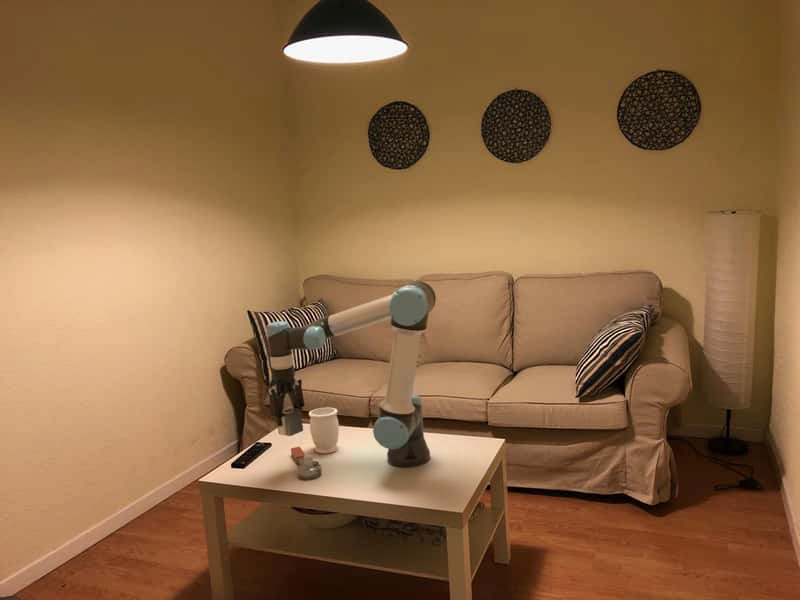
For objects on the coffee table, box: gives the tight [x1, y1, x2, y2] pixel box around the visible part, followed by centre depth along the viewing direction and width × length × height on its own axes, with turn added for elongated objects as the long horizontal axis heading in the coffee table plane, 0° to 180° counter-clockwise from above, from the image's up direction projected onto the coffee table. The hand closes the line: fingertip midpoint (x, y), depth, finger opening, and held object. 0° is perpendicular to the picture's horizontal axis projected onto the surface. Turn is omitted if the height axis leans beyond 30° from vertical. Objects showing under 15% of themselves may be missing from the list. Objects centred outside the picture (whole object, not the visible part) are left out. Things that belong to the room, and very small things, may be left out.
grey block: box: [277, 406, 304, 437], centre depth 238 cm, size 6×6×8 cm
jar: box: [308, 407, 340, 455], centre depth 257 cm, size 11×10×15 cm
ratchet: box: [290, 446, 323, 482], centre depth 243 cm, size 26×8×7 cm, turn 21°
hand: (290, 431), depth 239 cm, fingers closed on grey block, 6 cm apart
